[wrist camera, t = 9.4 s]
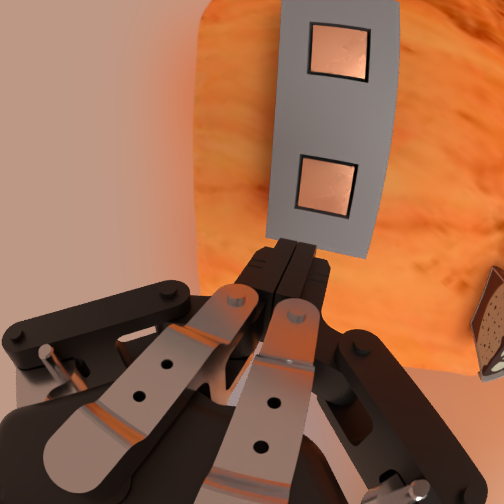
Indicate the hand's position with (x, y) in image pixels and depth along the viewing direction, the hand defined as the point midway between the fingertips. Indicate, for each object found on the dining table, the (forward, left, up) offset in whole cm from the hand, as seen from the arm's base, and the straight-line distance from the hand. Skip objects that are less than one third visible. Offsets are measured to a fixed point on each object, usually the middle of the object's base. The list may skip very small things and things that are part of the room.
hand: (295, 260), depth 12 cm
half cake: (-18, +23, -20) cm, 35 cm away
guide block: (-3, -5, -20) cm, 20 cm away
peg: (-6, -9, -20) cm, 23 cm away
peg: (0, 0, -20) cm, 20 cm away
